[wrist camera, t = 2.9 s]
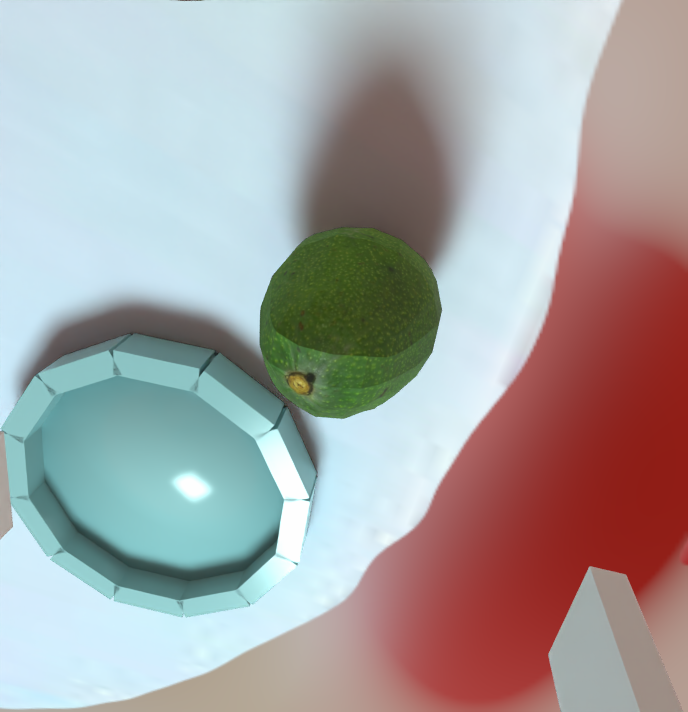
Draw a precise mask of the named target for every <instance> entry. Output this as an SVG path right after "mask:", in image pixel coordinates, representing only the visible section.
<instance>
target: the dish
mask: <svg viewBox="0 0 688 712" xmlns="http://www.w3.org/2000/svg"><path fill="white" fill-rule="evenodd" d="M284 404H285V403H284V402H282V401H281V400H280V399H278V398H277V397H276V396H275V395H273V394H272V393H271V392H269V391H268V390H267V389H266V388H264V387H263V386H262V385H261V384H259V383H258V382H257V381H255V380H254V379H253V378H252V377H250V376H249V375H248V374H246V373H245V372H244V371H243V370H241V369H240V368H239V367H238V366H236V365H235V364H234V363H232V362H231V361H230V360H229V359H227V358H226V357H225V356H223V355H222V354H221V353H220V352H219V354H218V355H217V356H216V355H215V350H211V349H207V348H202V347H197V346H193V345H188V344H183V343H179V342H174V341H169V340H165V339H160V338H155V337H150V336H146V335H141V334H136V333H134V334H133V335H132V336H131V334H127V335H124V336H121V337H118V338H115V339H112V340H109V341H106V342H103V343H100V344H97V345H94V346H91V347H88V348H85V349H82V350H79V351H76V352H73V353H70V354H66V355H63V356H62V357H61V358H59V359H58V360H56V361H55V362H53V363H52V364H51V365H49V366H48V367H46V368H45V369H43V370H42V371H41V372H39V373H38V374H37V375H35V376H34V378H33V379H32V381H31V382H30V384H29V385H28V387H27V388H26V390H25V392H24V393H23V395H22V396H21V398H20V399H19V401H18V402H17V404H16V405H15V407H14V409H13V410H12V412H11V413H10V415H9V416H8V418H7V419H6V421H5V423H4V424H3V426H2V427H1V429H2V432H4V438H5V449H6V459H7V470H8V480H9V491H10V501H11V505H12V506H13V508H14V509H15V511H16V512H17V514H18V515H19V516H20V518H21V519H22V521H23V522H24V524H25V525H26V527H27V528H28V530H29V531H30V532H31V534H32V535H33V537H34V538H35V540H36V541H37V543H38V544H39V546H40V547H41V548H42V550H43V551H44V553H45V554H46V556H52V555H53V557H52V558H51V559H50V560H52V561H53V562H55V563H56V564H58V565H59V566H61V567H62V568H64V569H65V570H67V571H68V572H70V573H71V574H73V575H74V576H76V577H77V578H79V579H80V580H82V581H83V582H85V583H86V584H88V585H89V586H91V587H92V588H94V589H95V590H97V591H98V592H100V593H101V594H103V595H104V596H106V597H107V598H109V599H111V598H112V597H113V596H114V601H116V602H120V603H124V604H128V605H133V606H137V607H141V608H145V609H150V610H154V611H158V612H162V613H166V614H171V615H175V616H179V617H183V614H184V615H185V616H186V617H191V616H197V615H203V614H208V613H214V612H220V611H225V610H231V609H237V608H242V607H248V606H250V603H251V604H252V605H253V604H254V603H255V602H256V601H258V600H259V599H260V598H261V597H262V596H263V595H264V594H266V593H267V592H268V591H269V590H270V589H271V588H272V587H274V586H275V585H276V584H277V583H278V582H279V581H280V580H282V579H283V578H284V577H285V576H286V575H287V574H288V573H290V572H291V571H292V570H293V569H294V568H295V567H296V566H297V564H298V563H299V560H300V557H301V553H302V550H303V546H304V542H305V539H306V535H307V530H308V524H309V519H310V513H311V508H312V502H313V497H314V492H315V486H316V481H317V476H316V474H317V472H316V470H315V467H314V465H313V463H312V461H311V458H310V456H309V454H308V452H307V450H306V447H305V445H304V443H303V441H302V438H301V436H300V434H299V432H298V429H297V427H296V425H295V423H294V420H293V418H292V416H291V414H290V411H289V409H288V407H286V408H283V406H284Z"/></svg>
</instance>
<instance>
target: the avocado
mask: <svg viewBox="0 0 688 712" xmlns="http://www.w3.org/2000/svg"><path fill="white" fill-rule="evenodd" d="M441 312H442V307H441V302H440V297H439V291H438V286H437V281H436V279H435V277H434V275H433V272H432V270H431V269H430V267H429V266H428V264H427V263H426V261H425V260H424V259H423V258H422V257H421V256H420V255H419V254H417V253H416V252H415V251H414V250H413V249H412V248H410V247H409V246H408V245H407V244H406V243H405V242H403V241H402V240H401V239H398V238H396V237H393V236H391V235H389V234H386V233H384V232H381V231H379V230H376V229H374V228H350V227H341V228H337V229H333V230H329V231H325V232H321V233H317V234H314V235H312V236H310V237H308V238H306V239H305V240H304V241H303V242H302V243H301V244H300V245H299V246H298V247H297V248H296V249H295V250H294V251H293V252H292V254H291V255H290V256H289V257H288V258H287V259H286V261H285V262H284V263H283V264H282V265H281V266H280V268H279V269H278V270H277V271H276V272H275V273H274V275H273V276H272V278H271V281H270V284H269V286H268V289H267V292H266V294H265V297H264V300H263V302H262V305H261V310H260V348H261V351H262V355H263V358H264V362H265V366H266V368H267V371H268V373H269V376H270V378H271V380H272V382H273V383H274V384H275V386H276V387H277V389H278V390H279V392H280V393H282V394H283V395H284V396H285V397H286V398H287V399H288V400H290V401H291V402H292V403H294V404H295V405H296V406H298V407H299V408H301V409H303V410H305V411H306V412H308V413H310V414H312V415H313V416H315V417H328V418H341V419H344V418H347V417H350V416H352V415H355V414H358V413H360V412H363V411H367V410H371V409H375V408H376V407H377V406H379V405H381V404H383V403H384V402H386V401H387V400H388V399H390V398H391V397H393V396H394V395H395V394H396V393H398V392H399V391H400V390H401V389H402V388H403V387H404V386H405V385H407V384H408V383H409V382H410V381H411V380H412V379H413V378H415V377H416V376H417V374H418V373H419V371H420V370H421V368H422V367H423V365H424V364H425V362H426V361H427V359H428V358H429V356H430V355H431V353H432V351H433V347H434V343H435V338H436V334H437V330H438V326H439V321H440V316H441Z"/></svg>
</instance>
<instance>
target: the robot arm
mask: <svg viewBox="0 0 688 712" xmlns="http://www.w3.org/2000/svg"><path fill="white" fill-rule="evenodd" d="M12 527H13V522H12V512H11V501H10V491H9V480H8V470H7V459H6V449H5V438H4V432H2V431H0V539H1V538H2V537H3V536H4V535H5V534H6V533H7V532H8V531H9V530H10V529H11V528H12ZM548 655H549V660H550V665H551V669H552V674H553V678H554V683H555V688H556V692H557V697H558V702H559V706H560V711H561V712H683V710H682V707H681V705H680V702H679V700H678V698H677V696H676V693H675V691H674V688H673V686H672V683H671V681H670V679H669V676H668V674H667V671H666V669H665V667H664V664H663V662H662V659H661V657H660V655H659V652H658V650H657V648H656V645H655V643H654V641H653V638H652V636H651V633H650V631H649V628H648V626H647V624H646V621H645V619H644V617H643V614H642V612H641V609H640V607H639V605H638V602H637V600H636V597H635V595H634V593H633V590H632V588H631V586H630V583H629V581H628V578H627V576H626V575H625V574H621V573H616V572H612V571H608V570H603V569H599V568H595V567H589V569H588V571H587V573H586V575H585V578H584V580H583V582H582V584H581V586H580V588H579V590H578V593H577V594H576V597H575V599H574V601H573V603H572V605H571V607H570V609H569V612H568V614H567V616H566V618H565V620H564V622H563V624H562V627H561V629H560V631H559V633H558V635H557V637H556V640H555V641H554V643H553V646H552V648H551V650H550V652H549V654H548Z"/></svg>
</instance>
